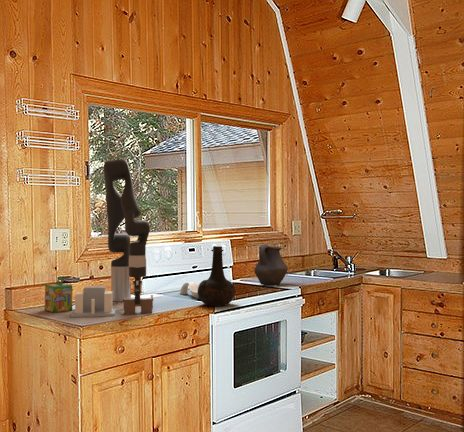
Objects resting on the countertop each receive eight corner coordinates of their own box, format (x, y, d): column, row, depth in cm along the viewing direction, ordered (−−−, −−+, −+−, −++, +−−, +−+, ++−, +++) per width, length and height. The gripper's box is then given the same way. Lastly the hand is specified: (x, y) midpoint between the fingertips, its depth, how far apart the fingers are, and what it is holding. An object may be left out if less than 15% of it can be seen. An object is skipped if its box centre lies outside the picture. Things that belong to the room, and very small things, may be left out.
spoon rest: (217, 298, 291) (217, 284, 291) (199, 300, 283) (199, 286, 283) (192, 293, 309) (191, 280, 309) (173, 295, 302) (173, 282, 302)
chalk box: (44, 310, 253) (44, 277, 253) (63, 308, 259) (63, 276, 259) (53, 313, 246) (53, 279, 246) (73, 310, 253) (73, 277, 253)
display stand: (74, 311, 249) (74, 286, 249) (115, 310, 252) (115, 285, 252) (70, 317, 236) (70, 290, 236) (114, 315, 238) (114, 289, 238)
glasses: (123, 308, 257) (123, 295, 257) (152, 307, 260) (152, 294, 260) (122, 313, 244) (122, 299, 244) (153, 312, 246) (153, 299, 246)
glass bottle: (193, 303, 273) (193, 245, 273) (227, 301, 279) (227, 244, 279) (204, 309, 256) (204, 247, 256) (240, 306, 262) (240, 246, 262)
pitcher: (293, 284, 346) (293, 244, 346) (277, 288, 328) (277, 245, 328) (264, 282, 357) (264, 243, 357) (246, 286, 339) (246, 244, 339)
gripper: (129, 264, 252) (129, 300, 252) (128, 267, 238) (128, 305, 238) (146, 264, 253) (146, 300, 253) (146, 266, 239) (146, 305, 239)
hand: (137, 302), depth 246 cm, fingers open, 8 cm apart
